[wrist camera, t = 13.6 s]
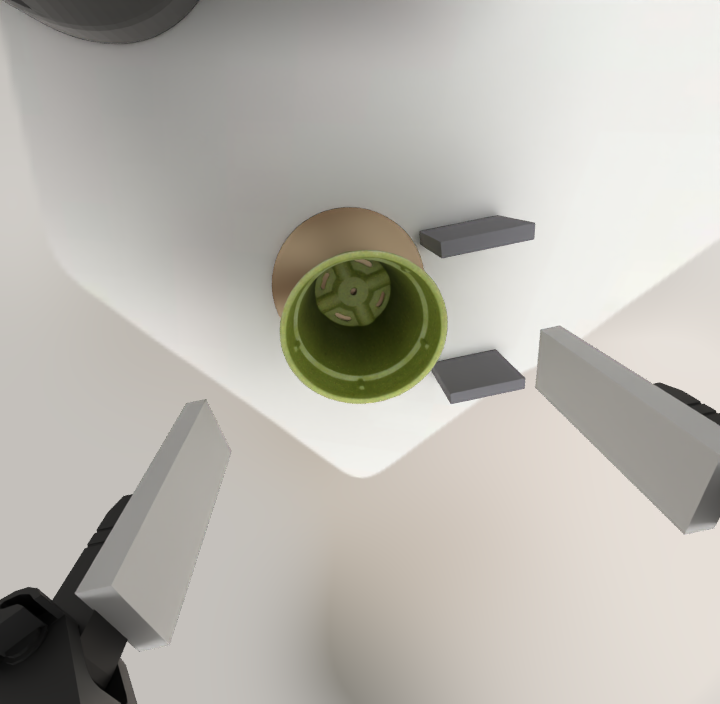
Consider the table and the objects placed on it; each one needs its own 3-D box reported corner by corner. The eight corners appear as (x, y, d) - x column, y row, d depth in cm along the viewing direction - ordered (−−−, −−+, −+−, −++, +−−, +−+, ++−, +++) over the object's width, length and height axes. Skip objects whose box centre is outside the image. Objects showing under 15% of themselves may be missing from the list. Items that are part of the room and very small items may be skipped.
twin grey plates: (419, 231, 25) (440, 242, 21) (497, 215, 25) (535, 222, 21) (432, 372, 31) (451, 404, 27) (495, 359, 31) (524, 388, 27)
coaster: (250, 225, 24) (250, 226, 24) (416, 192, 24) (417, 192, 24) (295, 368, 29) (295, 370, 29) (429, 340, 30) (430, 342, 29)
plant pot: (386, 356, 29) (410, 418, 22) (279, 328, 27) (263, 386, 20) (429, 251, 26) (476, 282, 18) (309, 209, 24) (304, 224, 16)
